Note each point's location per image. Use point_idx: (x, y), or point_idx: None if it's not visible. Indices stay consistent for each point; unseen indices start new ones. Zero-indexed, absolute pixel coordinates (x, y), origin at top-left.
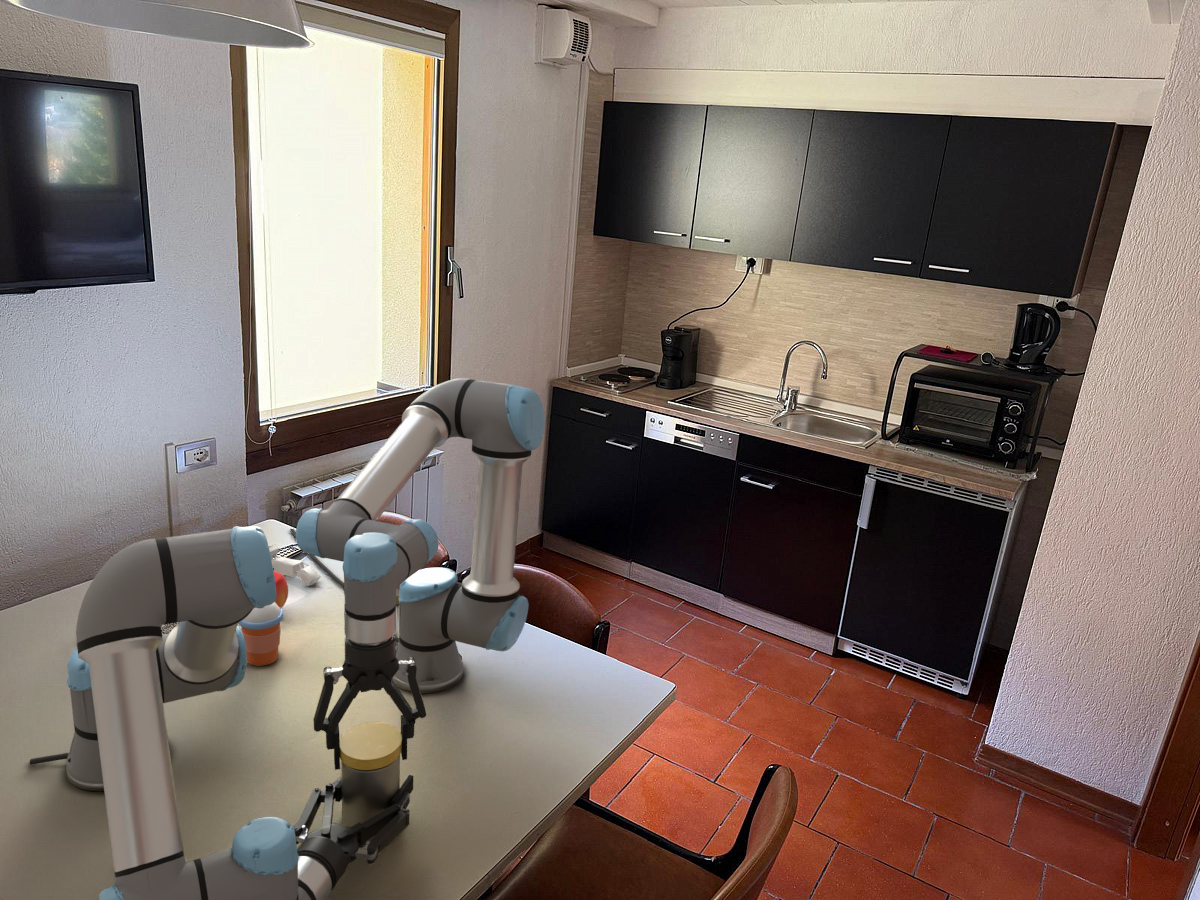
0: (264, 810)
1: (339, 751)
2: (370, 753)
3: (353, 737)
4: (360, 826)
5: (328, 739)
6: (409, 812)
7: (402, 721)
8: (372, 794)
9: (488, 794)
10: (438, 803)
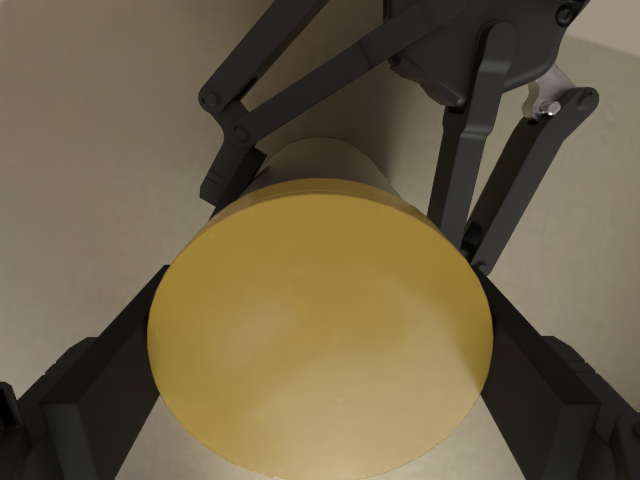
0: (540, 301)
1: (493, 314)
2: (332, 252)
3: (407, 396)
4: (375, 40)
5: (594, 382)
6: (200, 96)
7: (82, 439)
8: (322, 161)
9: (35, 241)
10: (158, 238)
